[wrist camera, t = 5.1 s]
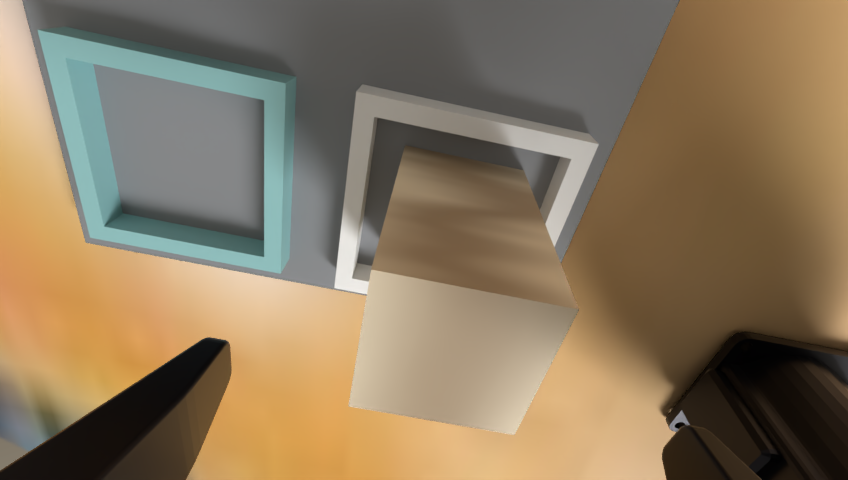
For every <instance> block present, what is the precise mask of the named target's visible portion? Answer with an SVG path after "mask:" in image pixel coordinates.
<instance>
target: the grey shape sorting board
mask: <svg viewBox="0 0 848 480" xmlns="http://www.w3.org/2000/svg"><path fill="white" fill-rule="evenodd" d="M22 1H23V5H24V9H25V12H26V16H27V20H28V24H29V28H30V32H31V35H32V39H33V43H34V47H35V51H36V54H37V58H38V62H39V66H40V70H41V74H42V77H43V81H44V85H45V89H46V93H47V96H48V100H49V104H50V108H51V112H52V116H53V119H54V123H55V127H56V131H57V135H58V139H59V142H60V146H61V150H62V154H63V158H64V161H65V165H66V169H67V173H68V177H69V181H70V184H71V188H72V192H73V196H74V200H75V203H76V207H77V211H78V215H79V219H80V223H81V226H82V230H83V234H84V238H85V242H86V243H91V244H96V245H101V246H107V247H112V248H117V249H123V250H128V251H133V252H138V253H144V254H149V255H154V256H160V257H165V258H170V259H175V260H181V261H186V262H191V263H197V264H202V265H207V266H213V267H218V268H223V269H228V270H234V271H239V272H244V273H250V274H255V275H260V276H265V277H271V278H276V279H281V280H287V281H292V282H297V283H303V284H308V285H313V286H318V287H324V288H329V289H334V290H340V291H345V292H350V293H355V294H361V295H366V296H367V291H368V285H369V279H370V273H371V268H372V264H373V260H374V257H375V253H376V250H377V246H378V242H379V239H380V235H381V231H382V228H383V224H384V220H385V217H386V213H387V209H388V206H389V202H390V198H391V195H392V191H393V188H394V184H395V180H396V177H397V173H398V169H399V166H400V162H401V158H402V155H403V151H404V147H405V145H406V146H411V147H416V148H421V149H425V150H430V151H435V152H439V153H444V154H449V155H454V156H458V157H463V158H468V159H473V160H477V161H482V162H487V163H492V164H496V165H501V166H506V167H510V168H515V169H520V170H524V172H525V175H526V177H527V180H528V182H529V185H530V187H531V190H532V192H533V195H534V197H535V200H536V202H537V205H538V207H539V210H540V212H541V215H542V217H543V220H544V222H545V225H546V228H547V230H548V233H549V235H550V238H551V240H552V243H553V245H554V248H555V250H556V253H557V255H558V258H559V260H560V263H561V262H562V260H563V257H564V255H565V253H566V251H567V249H568V246H569V244H570V242H571V240H572V237H573V235H574V233H575V231H576V229H577V226H578V224H579V222H580V220H581V218H582V215H583V213H584V211H585V209H586V206H587V204H588V202H589V200H590V198H591V195H592V193H593V191H594V189H595V187H596V184H597V182H598V180H599V178H600V175H601V173H602V171H603V169H604V167H605V164H606V162H607V160H608V158H609V156H610V153H611V151H612V149H613V147H614V145H615V142H616V140H617V138H618V136H619V133H620V131H621V129H622V127H623V125H624V122H625V120H626V118H627V116H628V114H629V111H630V109H631V107H632V105H633V102H634V100H635V98H636V96H637V94H638V91H639V89H640V87H641V85H642V83H643V80H644V78H645V76H646V74H647V71H648V69H649V67H650V65H651V63H652V60H653V58H654V56H655V54H656V52H657V49H658V47H659V45H660V43H661V40H662V38H663V36H664V34H665V32H666V29H667V27H668V25H669V23H670V21H671V18H672V16H673V14H674V12H675V9H676V7H677V5H678V3H679V1H680V0H22Z"/></svg>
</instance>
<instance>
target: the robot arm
mask: <svg viewBox="0 0 848 480" xmlns="http://www.w3.org/2000/svg"><path fill="white" fill-rule="evenodd" d="M230 377H231V352H230V344H229V342H228V341H226V340H221V339H216V338H209V337H208V338H205V339H202V340H201V341H199V342H198V343H196V344H195V345H193V346H191V347H190V348H188V349H187V350H185V351H184V352H182V353H181V354H179V355H178V356H176V357H175V358H173V359H171V360H170V361H168V362H167V363H165V364H164V365H162V366H161V367H159V368H158V369H156V370H154V371H153V372H151V373H150V374H148V375H147V376H145V377H144V378H142V379H141V380H139V381H138V382H136V383H134V384H133V385H131V386H130V387H128V388H127V389H125V390H124V391H122V392H121V393H119V394H117V395H116V396H114V397H113V398H111V399H110V400H108V401H107V402H105V403H104V404H102V405H101V406H99V407H97V408H96V409H94V410H93V411H91V412H90V413H88V414H87V415H85V416H84V417H82V418H81V419H79V420H77V421H76V422H74V423H73V424H71V425H70V426H68V427H67V428H65V429H64V430H62V431H60V432H59V433H57V434H56V435H54V436H53V437H51V438H50V439H48V440H47V441H45V442H44V443H42V444H40V445H39V446H37V447H36V448H34V449H33V450H31V451H30V452H28V453H27V454H25V455H23V456H22V457H20V458H19V459H17V460H16V461H14V462H13V463H11V464H10V465H8V466H7V467H5V468H4V469H2V470H0V480H186V478H187V476H188V475H189V473H190V471H191V469H192V467H193V465H194V463H195V461H196V459H197V456H198V454H199V452H200V450H201V447H202V445H203V443H204V440H205V438H206V435H207V433H208V431H209V428H210V426H211V424H212V421H213V419H214V416H215V414H216V412H217V409H218V407H219V404H220V402H221V400H222V397H223V395H224V393H225V390H226V388H227V385H228V383H229V380H230ZM666 422H667V424H668V426H669V428H670V429H671V430H672V431H675V432H676V433H675V435H674V436H673V437H672V438H671V439H670V440H669V442H668V443H667V444H666V445H665V447H664V449H663V452H662V460H663V465H664V470H665V475H666V479H667V480H848V352H847V351H842V350H837V349H832V348H827V347H822V346H817V345H811V344H806V343H801V342H796V341H791V340H786V339H780V338H775V337H770V336H765V335H760V334H755V333H750V332H740V333H736V334H734V335H733V336H732V337H730V338H729V340H728V341H727V342H726V343H725V345H724V346H723V347H722V348H721V350H720V351H719V352H718V353H717V355H716V356H715V357H714V358H713V360H712V361H711V362H710V363H709V365H708V366H707V367H706V368H705V370H704V371H703V372H702V373H701V375H700V376H699V377H698V378H697V380H696V381H695V382H694V383H693V385H692V386H691V387H690V388H689V390H688V391H687V392H686V393H685V395H684V396H683V397H682V398H681V400H680V401H679V402H678V403H677V405H676V406H675V407H674V408H673V410H672V411H671V412H670V413H669V415H668V416H667V418H666Z"/></svg>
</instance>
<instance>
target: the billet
mask: <svg viewBox="0 0 848 480" xmlns="http://www.w3.org/2000/svg"><path fill="white" fill-rule="evenodd" d="M578 311H579V308H578V306H577V303H576V301H575V298H574V295H573V293H572V290H571V288H570V285H569V283H568V280H567V278H566V275H565V273H564V270H563V268H562V265H561V263H560V260H559V258H558V255H557V253H556V250H555V248H554V245H553V243H552V240H551V238H550V235H549V233H548V230H547V228H546V225H545V222H544V220H543V217H542V215H541V212H540V210H539V207H538V205H537V202H536V200H535V197H534V195H533V192H532V190H531V187H530V185H529V182H528V180H527V177H526V175H525V172H524V170H520V169H515V168H510V167H506V166H501V165H496V164H492V163H487V162H482V161H477V160H473V159H468V158H463V157H458V156H454V155H449V154H444V153H439V152H435V151H430V150H425V149H421V148H416V147H411V146H406V145H405V147H404V151H403V155H402V158H401V162H400V166H399V169H398V173H397V177H396V180H395V184H394V188H393V191H392V195H391V198H390V202H389V206H388V209H387V213H386V217H385V220H384V224H383V228H382V231H381V235H380V239H379V242H378V246H377V250H376V253H375V257H374V260H373V264H372V268H371V273H370V279H369V285H368V291H367V297H366V303H365V309H364V315H363V321H362V327H361V333H360V339H359V345H358V351H357V358H356V364H355V370H354V376H353V382H352V388H351V394H350V400H349V407H355V408H361V409H367V410H373V411H378V412H384V413H390V414H396V415H402V416H407V417H413V418H419V419H425V420H430V421H436V422H442V423H448V424H454V425H459V426H465V427H471V428H477V429H483V430H488V431H494V432H500V433H506V434H511V435H515V433H516V431H517V429H518V427H519V425H520V423H521V421H522V419H523V417H524V415H525V414H526V412H527V410H528V408H529V406H530V404H531V402H532V400H533V398H534V396H535V394H536V392H537V390H538V388H539V386H540V384H541V382H542V381H543V379H544V377H545V375H546V373H547V371H548V369H549V367H550V365H551V363H552V361H553V359H554V357H555V355H556V353H557V351H558V350H559V348H560V346H561V344H562V342H563V340H564V338H565V336H566V334H567V332H568V330H569V328H570V326H571V324H572V322H573V320H574V319H575V317H576V315H577V313H578Z"/></svg>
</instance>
